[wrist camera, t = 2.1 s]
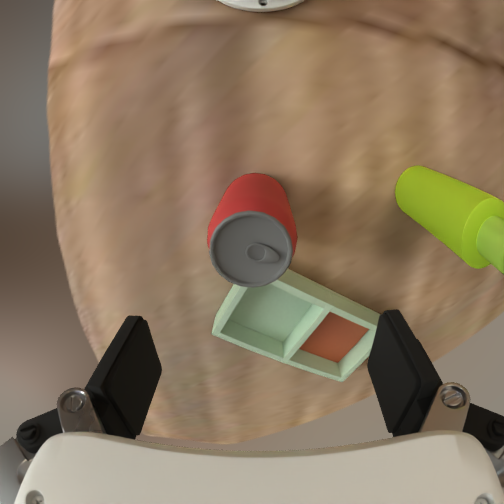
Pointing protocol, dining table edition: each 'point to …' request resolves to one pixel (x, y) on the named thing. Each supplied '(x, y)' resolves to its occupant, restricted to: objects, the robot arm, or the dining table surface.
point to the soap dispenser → (455, 215)
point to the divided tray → (299, 325)
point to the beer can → (252, 232)
